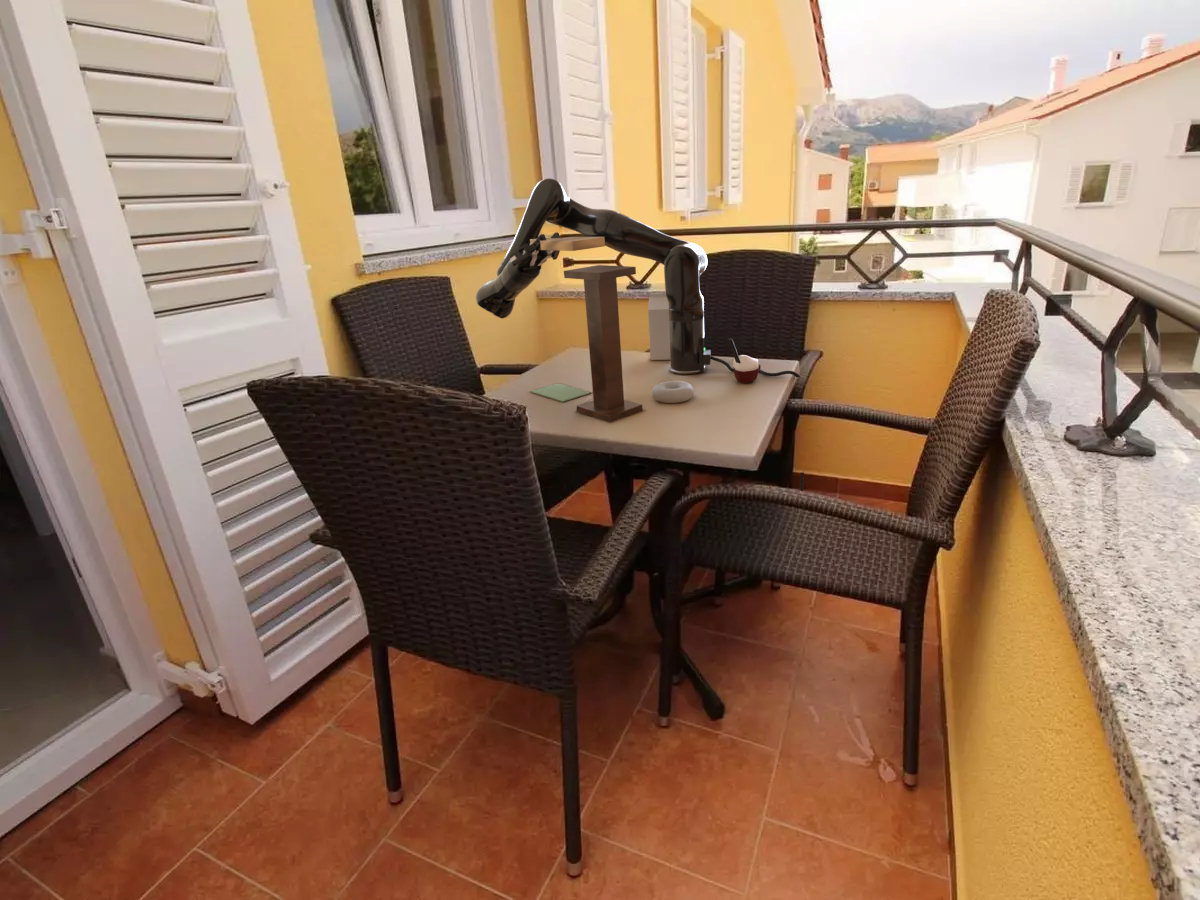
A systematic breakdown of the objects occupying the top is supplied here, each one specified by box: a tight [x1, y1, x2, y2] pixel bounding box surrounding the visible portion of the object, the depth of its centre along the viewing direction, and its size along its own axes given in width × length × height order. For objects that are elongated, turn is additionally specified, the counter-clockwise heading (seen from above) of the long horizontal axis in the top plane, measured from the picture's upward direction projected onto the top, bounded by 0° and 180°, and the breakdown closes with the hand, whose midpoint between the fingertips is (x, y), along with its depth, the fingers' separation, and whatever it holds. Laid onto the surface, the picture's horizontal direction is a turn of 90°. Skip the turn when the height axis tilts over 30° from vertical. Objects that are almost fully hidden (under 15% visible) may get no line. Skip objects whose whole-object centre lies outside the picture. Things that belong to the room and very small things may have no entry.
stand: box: [563, 264, 644, 423], centre depth 139 cm, size 12×10×32 cm
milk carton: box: [647, 292, 670, 361], centre depth 184 cm, size 7×7×19 cm
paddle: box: [530, 236, 606, 252], centre depth 143 cm, size 20×9×2 cm, turn 41°
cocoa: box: [727, 337, 762, 384], centre depth 157 cm, size 10×6×12 cm, turn 96°
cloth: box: [530, 382, 592, 403], centre depth 162 cm, size 14×9×1 cm, turn 40°
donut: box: [651, 380, 695, 404], centre depth 150 cm, size 10×4×10 cm
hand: (551, 236), depth 145 cm, fingers closed on paddle, 3 cm apart
